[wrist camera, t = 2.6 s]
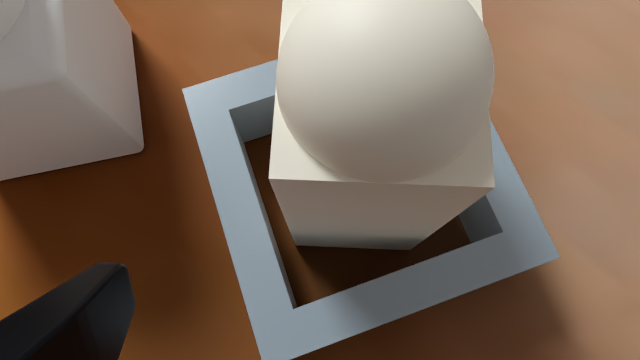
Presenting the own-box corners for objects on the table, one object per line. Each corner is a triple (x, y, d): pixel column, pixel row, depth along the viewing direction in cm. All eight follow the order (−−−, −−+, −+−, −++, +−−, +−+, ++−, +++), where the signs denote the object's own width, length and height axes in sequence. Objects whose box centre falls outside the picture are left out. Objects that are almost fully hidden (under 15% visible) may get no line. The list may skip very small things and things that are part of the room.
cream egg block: (409, 250, 19) (550, 146, 7) (295, 245, 19) (250, 135, 7) (408, 143, 21) (523, -89, 9) (301, 139, 21) (272, -96, 9)
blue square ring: (275, 359, 18) (264, 369, 15) (204, 124, 21) (182, 89, 18) (518, 267, 19) (560, 257, 16) (417, 56, 22) (434, 10, 19)
